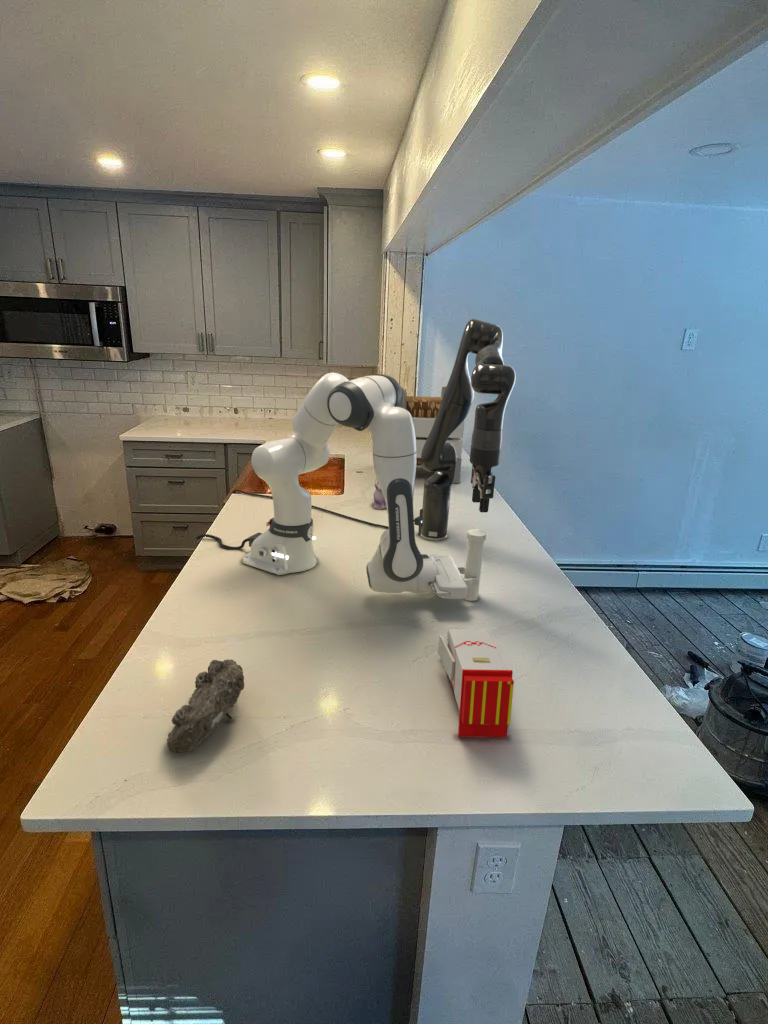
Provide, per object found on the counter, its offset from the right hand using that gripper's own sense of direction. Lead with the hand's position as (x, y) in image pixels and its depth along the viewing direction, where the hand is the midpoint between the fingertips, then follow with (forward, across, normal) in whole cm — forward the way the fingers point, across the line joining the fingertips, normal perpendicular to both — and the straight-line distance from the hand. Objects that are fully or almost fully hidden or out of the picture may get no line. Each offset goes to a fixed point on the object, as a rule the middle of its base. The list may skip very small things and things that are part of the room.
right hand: (479, 506), depth 149 cm
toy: (+27, -41, +10) cm, 50 cm away
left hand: (+20, 0, -1) cm, 20 cm away
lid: (+8, 0, 0) cm, 8 cm away
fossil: (+27, -47, +61) cm, 82 cm away
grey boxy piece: (+27, +125, -4) cm, 128 cm away
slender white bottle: (+27, 0, 0) cm, 27 cm away
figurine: (+27, +76, +18) cm, 82 cm away
